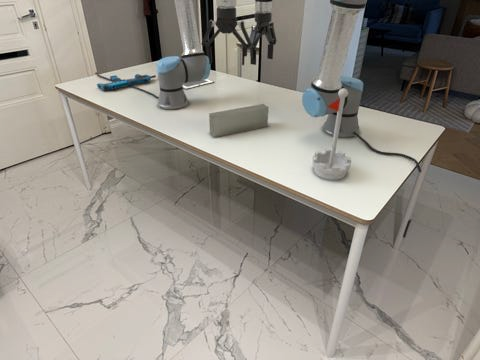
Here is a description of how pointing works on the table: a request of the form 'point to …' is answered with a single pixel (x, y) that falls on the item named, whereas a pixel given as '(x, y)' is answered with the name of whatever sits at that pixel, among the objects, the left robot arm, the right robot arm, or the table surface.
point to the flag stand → (333, 149)
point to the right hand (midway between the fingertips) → (261, 61)
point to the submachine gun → (124, 82)
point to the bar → (238, 120)
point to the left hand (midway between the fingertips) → (226, 63)
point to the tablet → (196, 83)
